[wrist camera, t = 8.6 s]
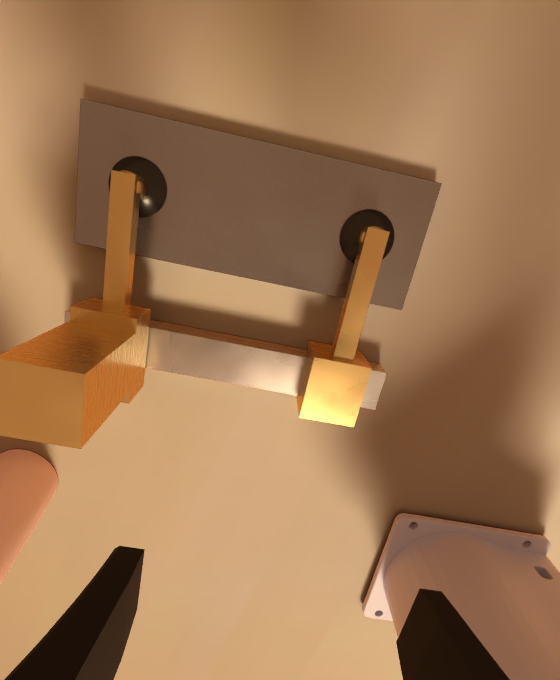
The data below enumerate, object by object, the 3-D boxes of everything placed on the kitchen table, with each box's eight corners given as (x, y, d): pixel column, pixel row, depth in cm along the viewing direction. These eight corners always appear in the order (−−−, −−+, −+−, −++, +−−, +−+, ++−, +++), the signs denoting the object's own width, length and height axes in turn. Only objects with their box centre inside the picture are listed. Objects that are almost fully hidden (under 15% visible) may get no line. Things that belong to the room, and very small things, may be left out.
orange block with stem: (168, 181, 15) (96, 153, 9) (146, 381, 18) (79, 465, 12) (105, 167, 15) (-13, 129, 9) (92, 371, 18) (-5, 451, 12)
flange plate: (435, 184, 16) (442, 183, 16) (397, 307, 18) (402, 310, 17) (87, 103, 15) (79, 97, 14) (81, 241, 17) (73, 242, 16)
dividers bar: (419, 237, 17) (441, 240, 15) (366, 407, 20) (378, 431, 17) (85, 163, 16) (53, 153, 14) (76, 353, 18) (48, 372, 16)
